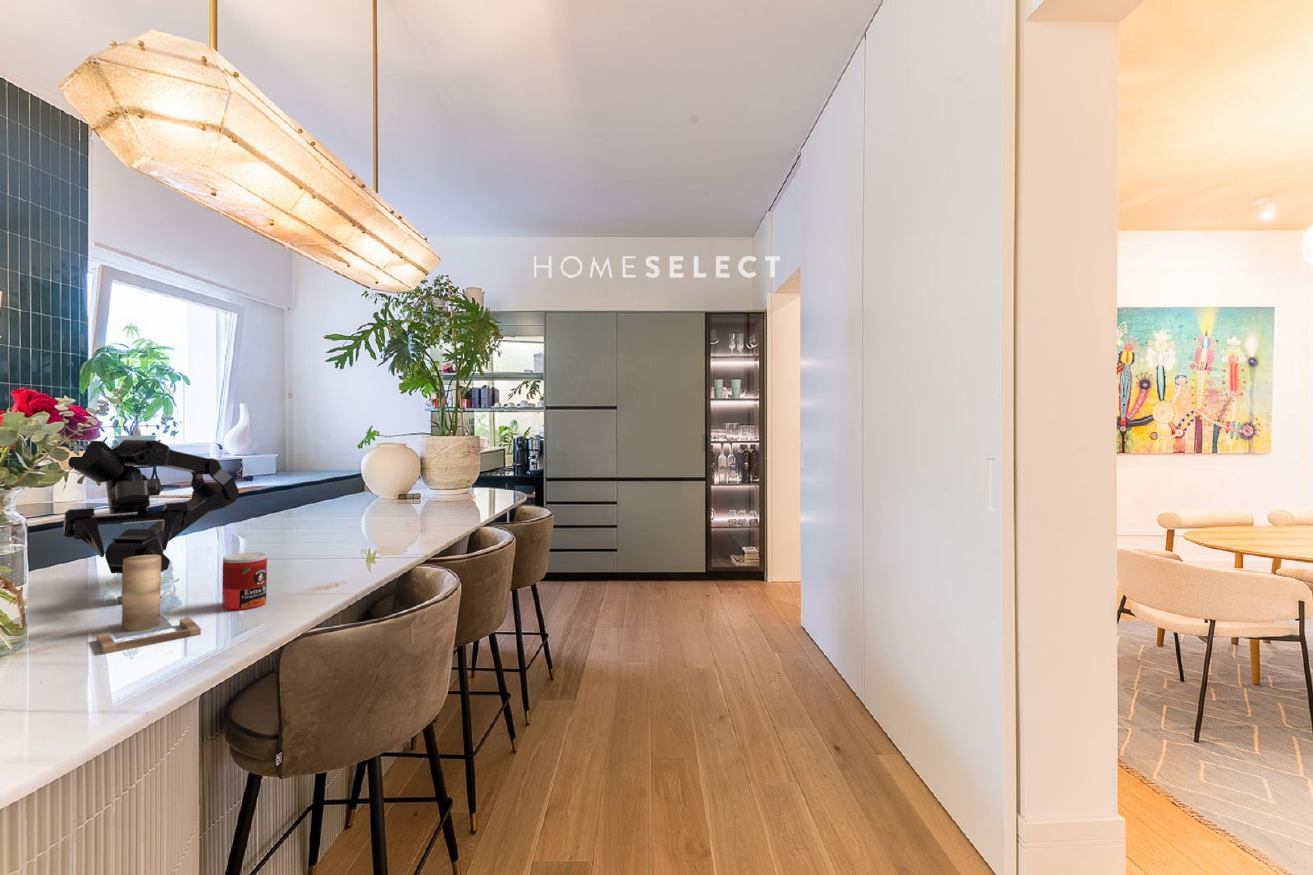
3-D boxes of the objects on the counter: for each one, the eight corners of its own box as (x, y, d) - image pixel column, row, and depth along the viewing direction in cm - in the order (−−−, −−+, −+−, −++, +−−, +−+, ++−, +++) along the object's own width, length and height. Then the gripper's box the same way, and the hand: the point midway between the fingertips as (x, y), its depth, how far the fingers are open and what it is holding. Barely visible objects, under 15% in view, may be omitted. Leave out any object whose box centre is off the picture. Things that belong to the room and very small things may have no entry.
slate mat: (108, 627, 110) (108, 625, 110) (162, 617, 116) (162, 615, 116) (116, 640, 104) (116, 638, 104) (174, 629, 110) (174, 627, 110)
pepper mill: (119, 626, 110) (120, 557, 110) (156, 619, 114) (158, 553, 114) (124, 633, 106) (125, 562, 106) (162, 626, 110) (164, 558, 110)
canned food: (244, 614, 120) (245, 561, 120) (212, 610, 121) (212, 558, 121) (275, 603, 127) (276, 553, 127) (244, 600, 129) (245, 551, 129)
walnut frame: (96, 643, 103) (96, 634, 103) (189, 625, 112) (189, 617, 112) (103, 656, 97) (103, 647, 97) (200, 636, 107) (200, 628, 107)
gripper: (65, 467, 111) (70, 533, 104) (188, 464, 125) (201, 522, 118) (61, 504, 116) (66, 569, 109) (180, 497, 130) (191, 554, 123)
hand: (134, 552), depth 115 cm, fingers open, 9 cm apart
